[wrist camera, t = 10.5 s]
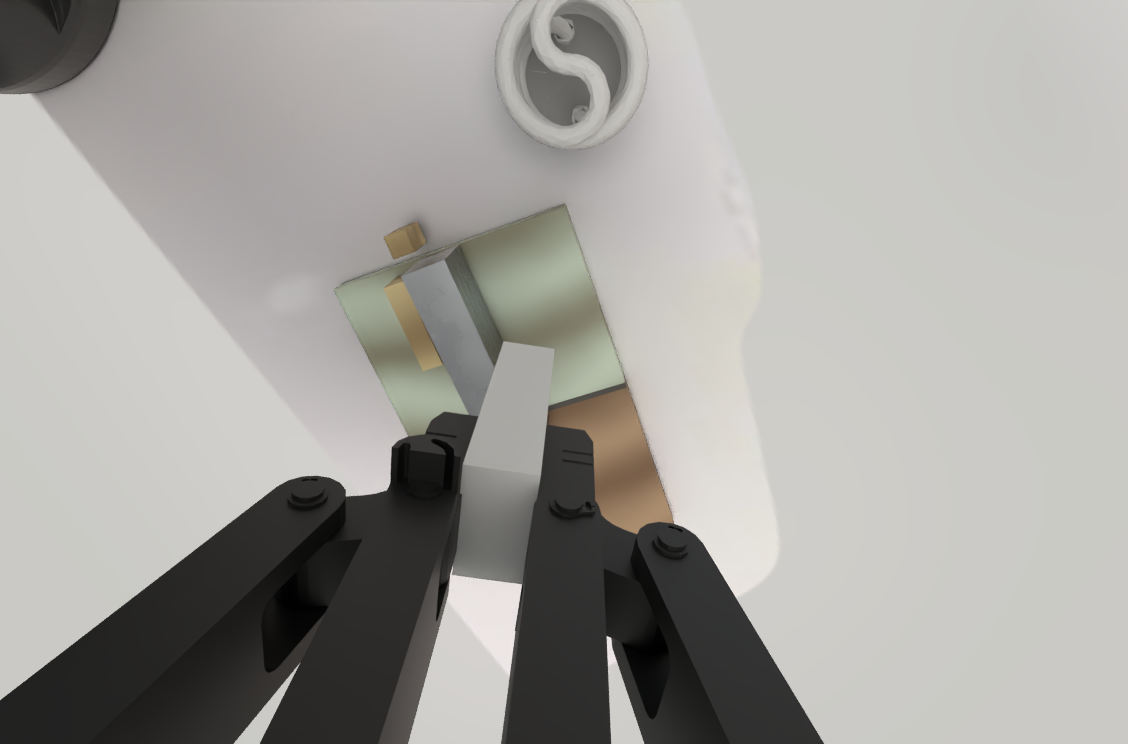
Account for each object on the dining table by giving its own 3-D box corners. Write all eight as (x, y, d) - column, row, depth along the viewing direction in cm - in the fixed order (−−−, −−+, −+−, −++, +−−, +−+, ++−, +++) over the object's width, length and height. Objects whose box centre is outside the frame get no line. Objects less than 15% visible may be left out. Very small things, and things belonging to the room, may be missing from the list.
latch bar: (558, 436, 37) (556, 469, 34) (499, 455, 38) (491, 489, 35) (472, 239, 33) (459, 254, 29) (407, 264, 33) (386, 282, 30)
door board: (325, 253, 35) (297, 268, 31) (553, 169, 32) (549, 175, 29) (483, 566, 43) (475, 604, 40) (672, 516, 41) (680, 552, 38)
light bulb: (645, 115, 31) (678, 115, 20) (546, 157, 32) (526, 180, 21) (608, -2, 29) (622, -73, 18) (503, 47, 30) (456, 8, 19)
